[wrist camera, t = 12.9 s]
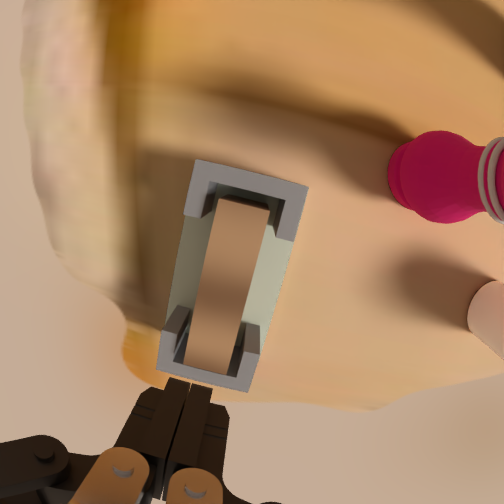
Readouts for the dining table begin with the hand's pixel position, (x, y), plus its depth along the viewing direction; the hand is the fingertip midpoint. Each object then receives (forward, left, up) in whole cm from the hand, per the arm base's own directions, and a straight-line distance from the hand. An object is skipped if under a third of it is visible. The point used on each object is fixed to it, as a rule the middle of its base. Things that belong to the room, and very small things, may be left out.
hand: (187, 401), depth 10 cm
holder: (0, 0, -18) cm, 18 cm away
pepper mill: (-12, +14, -18) cm, 26 cm away
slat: (0, 0, -17) cm, 17 cm away
